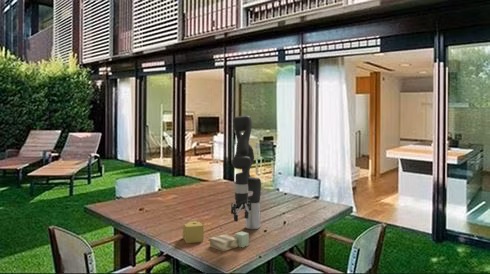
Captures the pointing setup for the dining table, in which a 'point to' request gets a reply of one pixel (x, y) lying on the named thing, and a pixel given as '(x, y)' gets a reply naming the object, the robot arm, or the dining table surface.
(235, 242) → the birch box
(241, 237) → the block
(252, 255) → the dining table surface
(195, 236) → the cheese
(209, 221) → the dining table surface
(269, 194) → the dining table surface
